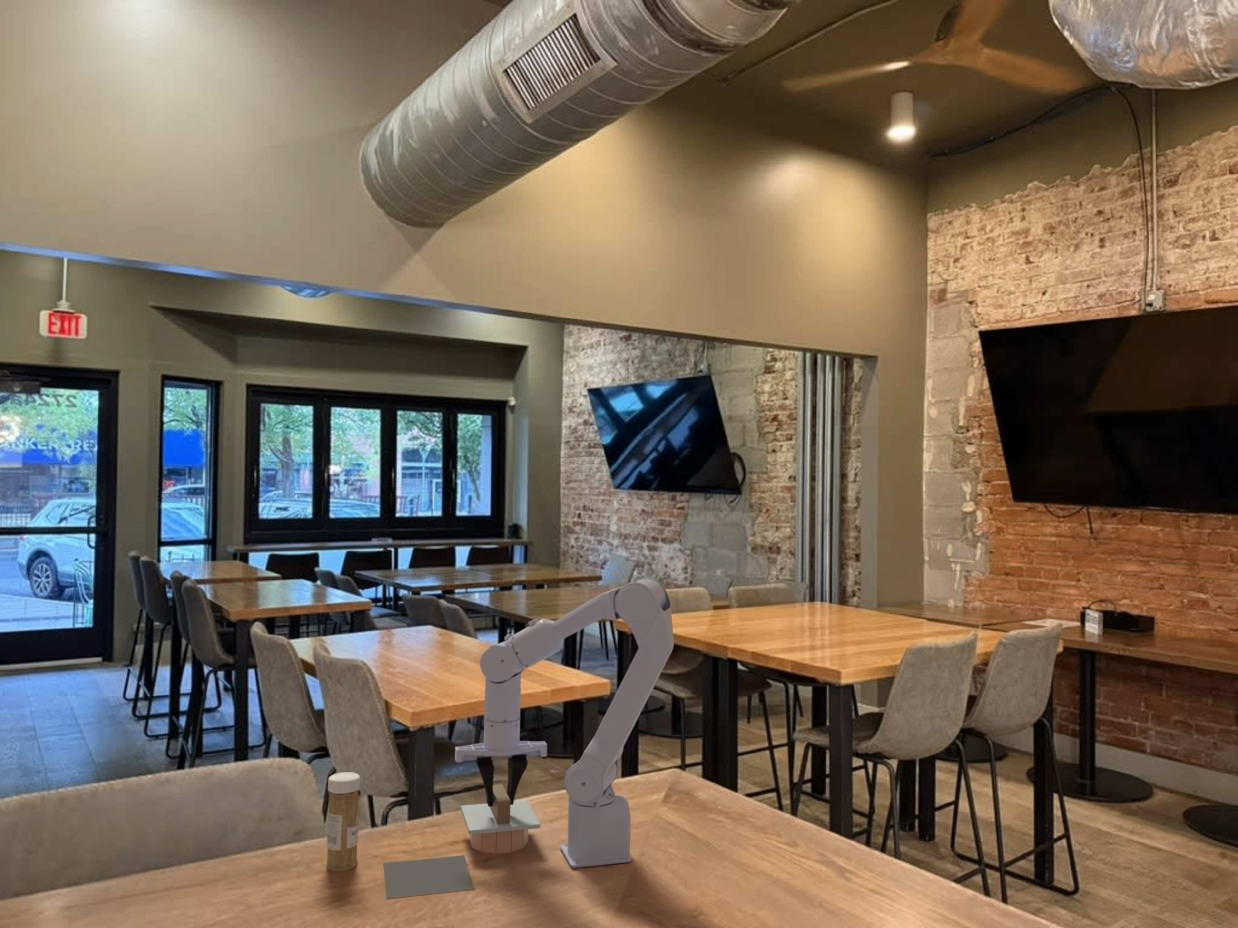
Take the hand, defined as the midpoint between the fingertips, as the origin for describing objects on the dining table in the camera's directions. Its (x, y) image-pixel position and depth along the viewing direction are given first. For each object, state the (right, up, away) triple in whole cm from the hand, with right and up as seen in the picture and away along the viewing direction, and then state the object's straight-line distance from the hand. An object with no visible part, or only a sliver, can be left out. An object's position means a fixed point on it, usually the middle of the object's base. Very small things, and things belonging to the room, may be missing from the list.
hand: (500, 803), depth 141 cm
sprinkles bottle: (-22, -6, -10) cm, 25 cm away
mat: (-9, -6, -13) cm, 17 cm away
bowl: (0, -6, 0) cm, 6 cm away
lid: (0, -2, 0) cm, 2 cm away
